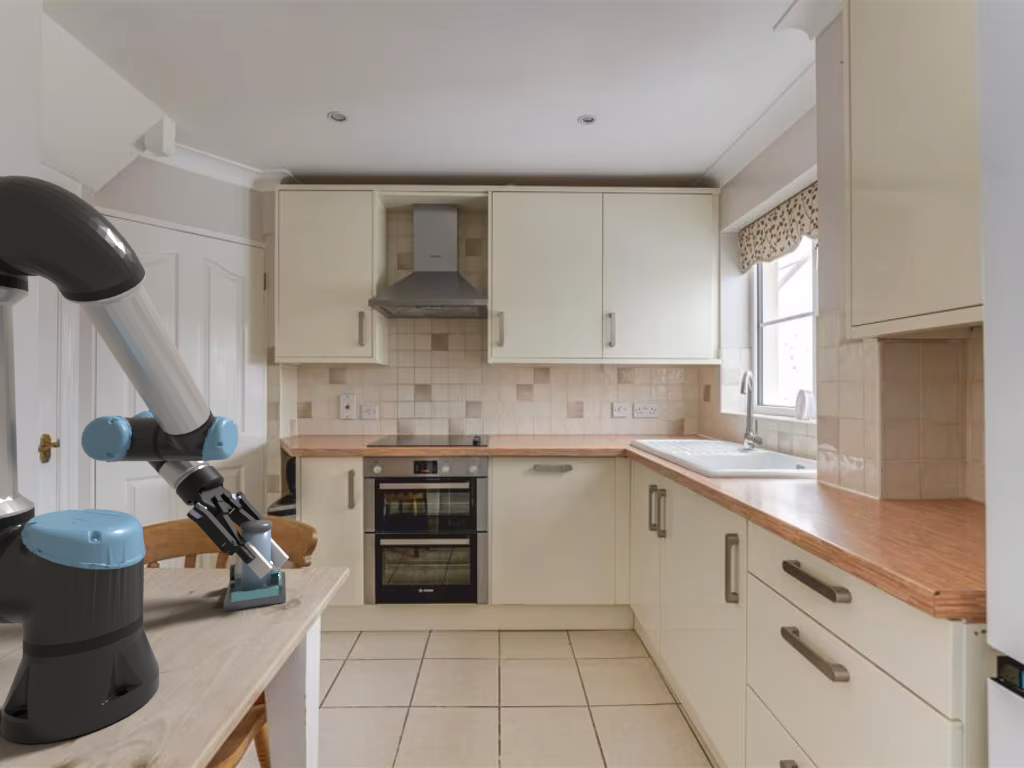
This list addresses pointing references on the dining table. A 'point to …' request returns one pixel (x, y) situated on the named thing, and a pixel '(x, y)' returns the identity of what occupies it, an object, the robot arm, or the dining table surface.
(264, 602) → the motor mount
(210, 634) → the dining table surface
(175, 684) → the dining table surface
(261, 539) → the ball
